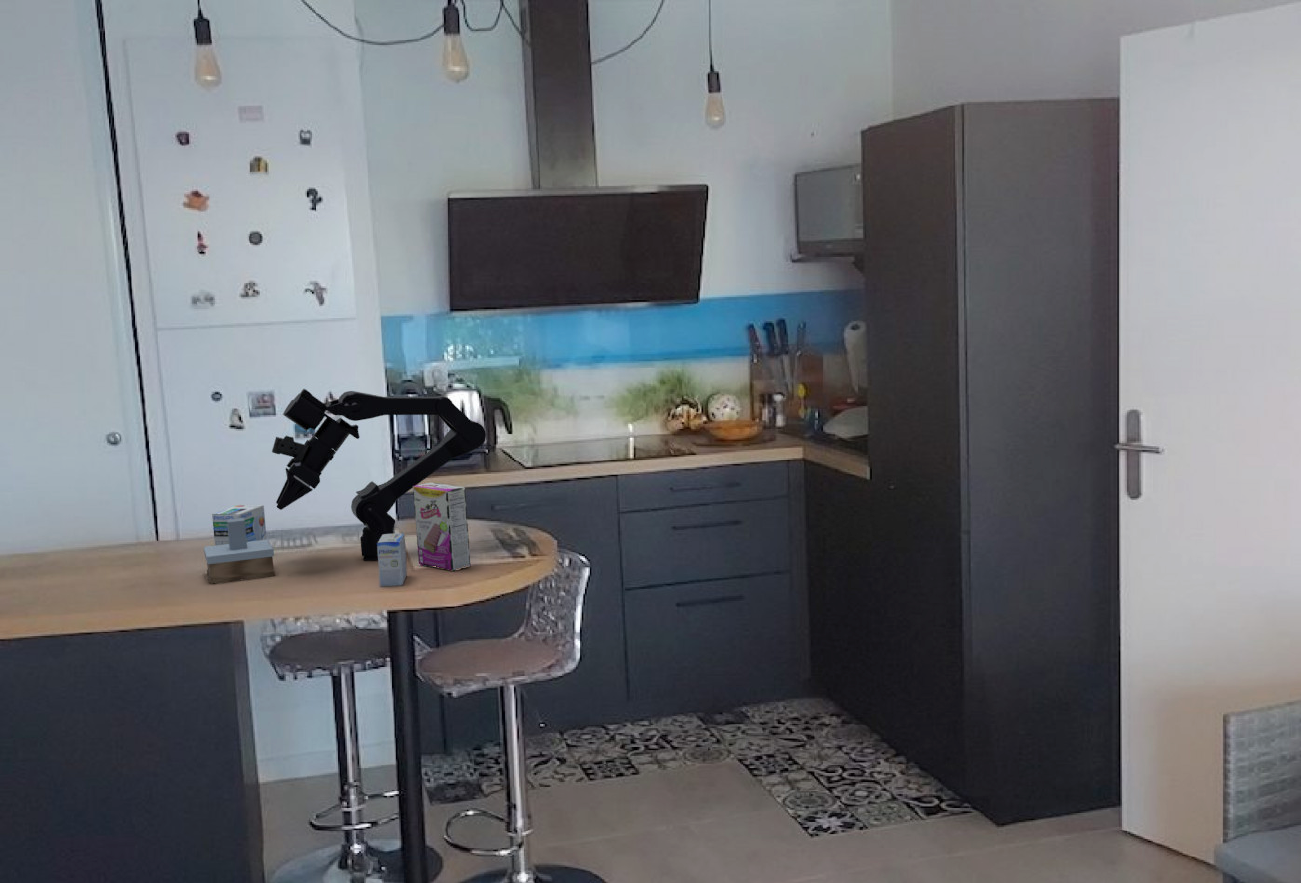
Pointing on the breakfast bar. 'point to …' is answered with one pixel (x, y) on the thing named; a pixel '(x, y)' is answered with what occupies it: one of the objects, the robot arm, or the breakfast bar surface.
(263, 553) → the lid
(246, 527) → the light bulb box
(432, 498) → the candy bar box
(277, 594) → the breakfast bar surface
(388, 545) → the medicine box
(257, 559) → the walnut box
